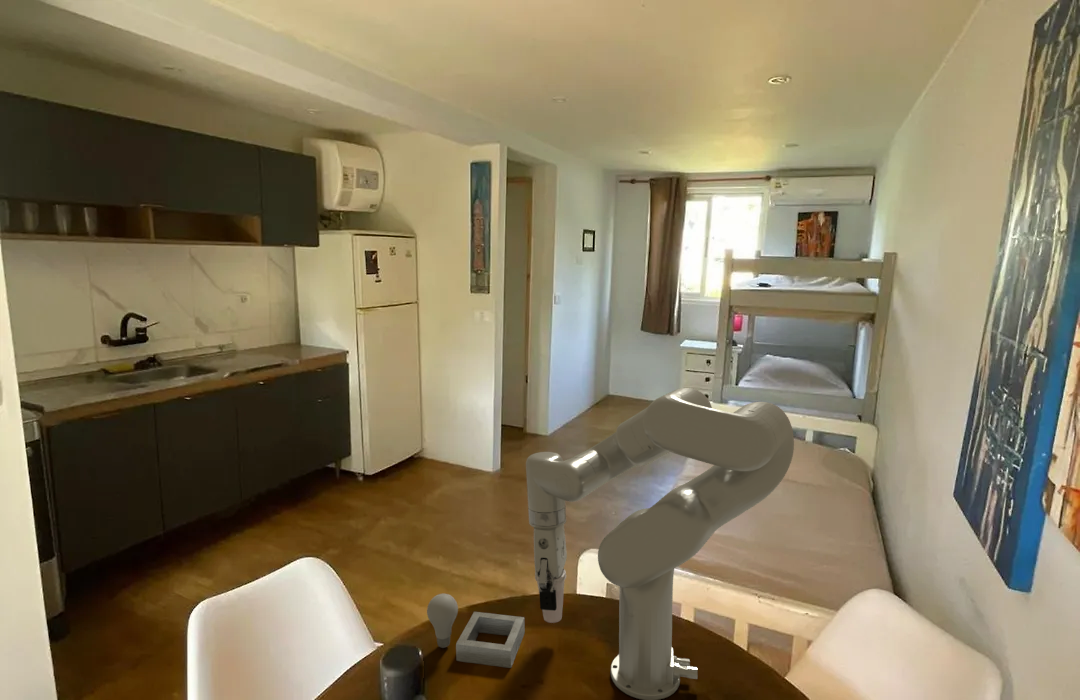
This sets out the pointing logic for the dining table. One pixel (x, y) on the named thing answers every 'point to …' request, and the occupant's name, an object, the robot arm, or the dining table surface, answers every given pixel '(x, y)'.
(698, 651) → the dining table surface
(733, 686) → the dining table surface
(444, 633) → the lightbulb
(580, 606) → the dining table surface
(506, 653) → the socket block
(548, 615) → the smoothie
